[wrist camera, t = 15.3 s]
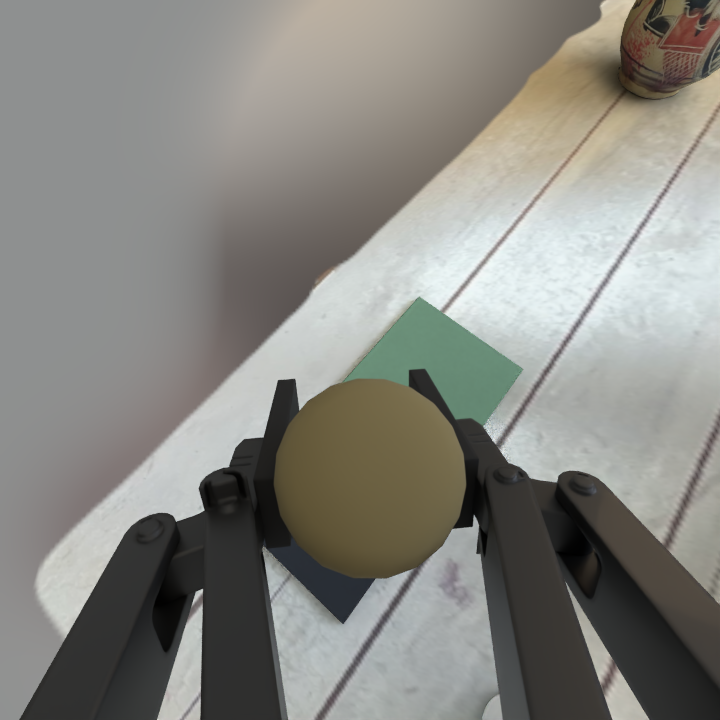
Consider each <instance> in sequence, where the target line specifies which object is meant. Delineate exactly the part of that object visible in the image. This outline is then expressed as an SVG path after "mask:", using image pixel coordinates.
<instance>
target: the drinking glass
mask: <svg viewBox="0 0 720 720" xmlns="http://www.w3.org/2000/svg"><path fill="white" fill-rule="evenodd" d="M482 720H503V718H502V711H501V703H500V696H499V694H497V695H496V696H494V697H493V698H492V699H491V700H490V701H489V703H488V704H487V706H486V708H485V710H484V713H483V716H482Z"/></svg>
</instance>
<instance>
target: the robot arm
mask: <svg viewBox="0 0 720 720" xmlns="http://www.w3.org/2000/svg"><path fill="white" fill-rule="evenodd" d="M409 387H411V388H412V389H414V390H415V391H417V392H418V393H420V394H421V395H422V396H424V397H425V398H427V399H428V400H430V401H431V402H433V403H434V404H435V405H436V407H437V408H438V409H439V410H440V412H441V413H442V414H443V415H444V417H445V418H446V419H447V420H448V422H449V423H450V424H451V425H452V427H453V429H454V432H455V434H456V437H457V439H458V442H459V444H460V447H461V449H462V452H463V454H464V464H465V475H466V489H465V494H464V498H463V503H462V507H461V512H460V516H459V518H458V520H457V522H456V523H455V525H454V527H453V529H455V528H464V527H473V517H474V515H475V517H476V519H477V521H478V523H479V533H478V542H477V552H476V554H481V561H482V569H483V576H484V584H485V591H486V599H487V606H488V614H489V621H490V628H491V636H492V643H493V651H494V658H495V666H496V673H497V681H498V688H499V696H500V703H501V711H502V718H503V720H612V718H611V715H610V712H609V709H608V706H607V703H606V700H605V697H604V694H603V691H602V688H601V685H600V682H599V680H598V677H597V674H596V671H595V668H594V665H593V662H592V659H591V656H590V653H589V650H588V647H587V644H586V642H585V639H584V636H583V633H582V630H581V627H580V624H579V621H578V618H577V615H576V612H575V609H574V607H573V604H572V601H571V598H570V595H569V592H568V589H567V586H566V583H567V585H568V586H569V588H570V590H571V591H572V593H573V595H574V596H575V598H576V600H577V601H578V603H579V604H580V606H581V608H582V609H583V611H584V613H585V614H586V616H587V618H588V619H589V621H590V623H591V624H592V626H593V627H594V629H595V631H596V632H597V634H598V636H599V637H600V639H601V641H602V642H603V644H604V646H605V647H606V649H607V651H608V652H609V654H610V655H611V657H612V659H613V660H614V662H615V664H616V665H617V667H618V669H619V670H620V672H621V674H622V675H623V677H624V678H625V680H626V682H627V683H628V685H629V687H630V688H631V690H632V692H633V693H634V695H635V697H636V698H637V700H638V701H639V703H640V705H641V706H642V708H643V710H644V711H645V713H646V715H647V716H648V718H649V720H720V605H719V604H718V603H717V602H716V601H715V600H714V599H713V597H712V596H711V595H710V594H709V593H708V592H707V591H706V590H705V589H704V588H703V587H702V586H701V585H700V584H699V583H698V582H697V581H696V580H695V579H694V578H693V576H692V575H691V574H690V573H689V572H688V571H687V570H686V569H685V568H684V567H683V566H682V565H681V564H680V563H679V562H678V561H677V560H676V559H675V558H674V557H673V555H672V554H671V553H670V552H669V551H668V550H667V549H666V548H665V547H664V546H663V545H662V544H661V543H660V542H659V541H658V540H657V539H656V538H655V537H654V536H653V534H652V533H651V532H650V531H649V530H648V529H647V528H646V527H645V526H644V525H643V524H642V523H641V522H640V521H639V520H638V519H637V518H636V517H635V516H634V515H633V513H632V512H631V511H630V510H629V509H628V508H627V507H626V506H625V505H624V504H623V503H622V502H621V501H620V500H619V499H618V498H617V497H616V496H615V495H614V494H613V492H612V491H611V490H610V489H609V488H608V487H607V486H606V485H605V484H604V483H603V482H601V481H600V480H599V479H598V478H596V477H594V476H592V475H590V474H587V473H583V472H580V471H567V472H563V473H562V474H560V475H559V476H558V481H557V483H555V482H548V481H540V480H535V479H531V478H529V476H528V475H527V473H526V472H525V471H524V470H522V469H521V468H520V467H517V466H515V465H513V464H509V463H508V462H507V460H506V459H505V458H504V456H503V455H502V453H501V452H500V450H499V449H498V448H497V446H496V445H495V443H494V442H493V441H492V439H491V438H490V436H489V435H488V434H487V432H486V430H485V429H484V428H483V426H482V425H481V424H480V423H478V422H477V421H475V420H474V419H472V418H466V419H455V418H454V416H453V414H452V413H451V411H450V409H449V408H448V406H447V404H446V403H445V401H444V399H443V398H442V396H441V394H440V392H439V391H438V389H437V387H436V386H435V384H434V382H433V381H432V379H431V377H430V376H429V374H428V372H427V371H426V369H412V370H409ZM298 412H299V405H298V397H297V389H296V381H295V379H288V380H278V383H277V387H276V391H275V395H274V399H273V403H272V407H271V411H270V415H269V419H268V422H267V426H266V430H265V434H264V438H252V439H244V440H243V441H242V442H241V443H240V444H239V445H238V446H237V447H236V448H235V451H234V454H233V457H232V459H231V462H230V465H229V466H230V467H228V468H222V469H219V470H216V471H214V472H212V473H211V474H209V475H208V476H206V477H205V478H204V479H203V480H202V482H201V483H200V486H199V491H200V495H201V498H202V502H203V506H204V509H205V511H203V512H201V513H200V514H197V515H195V516H192V517H189V518H186V519H183V520H180V521H177V522H176V521H175V519H174V517H173V516H172V515H170V514H168V513H157V514H152V515H149V516H147V517H145V518H143V519H141V520H139V521H138V522H136V523H135V524H134V525H132V526H131V527H130V528H129V530H128V531H127V532H126V533H125V535H124V537H123V538H122V540H121V542H120V544H119V545H118V547H117V549H116V551H115V552H114V554H113V556H112V558H111V559H110V561H109V563H108V565H107V566H106V568H105V570H104V572H103V574H102V575H101V577H100V579H99V581H98V582H97V584H96V586H95V588H94V589H93V591H92V593H91V595H90V596H89V598H88V600H87V602H86V603H85V605H84V607H83V609H82V610H81V612H80V614H79V616H78V618H77V619H76V621H75V623H74V625H73V626H72V628H71V630H70V632H69V633H68V635H67V637H66V639H65V640H64V642H63V644H62V646H61V647H60V649H59V651H58V653H57V655H56V657H55V658H54V660H53V662H52V663H51V665H50V667H49V669H48V670H47V672H46V674H45V676H44V677H43V679H42V681H41V683H40V684H39V686H38V688H37V690H36V692H35V693H34V695H33V697H32V699H31V700H30V702H29V704H28V705H27V707H26V709H25V711H24V713H23V715H22V716H21V718H20V720H157V718H158V714H159V711H160V708H161V704H162V701H163V698H164V695H165V691H166V688H167V685H168V681H169V678H170V675H171V672H172V668H173V665H174V662H175V658H176V655H177V652H178V648H179V645H180V642H181V639H182V635H183V632H184V629H185V625H186V622H187V619H188V616H189V612H190V609H191V606H192V602H193V599H194V596H195V593H196V591H198V590H201V589H203V622H202V669H201V716H200V720H288V716H287V710H286V703H285V696H284V689H283V683H282V676H281V669H280V663H279V656H278V649H277V642H276V636H275V629H274V622H273V616H272V609H271V602H270V595H269V589H268V582H267V575H266V569H265V562H264V556H263V552H262V548H263V542H264V539H265V543H266V548H267V549H269V548H278V547H288V546H291V538H292V535H291V533H290V532H289V530H288V528H287V527H286V525H285V523H284V521H283V520H282V518H281V516H280V512H279V507H278V503H277V498H276V493H275V489H274V475H275V464H276V453H277V451H278V449H279V446H280V444H281V441H282V439H283V436H284V434H285V432H286V429H287V427H288V425H289V423H290V422H291V421H292V420H293V418H294V417H295V416H296V415H297V414H298ZM565 581H566V583H565Z"/></svg>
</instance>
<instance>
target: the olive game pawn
mask: <svg viewBox="0 0 720 720" xmlns="http://www.w3.org/2000/svg"><path fill="white" fill-rule="evenodd" d="M274 489H275V493H276V498H277V503H278V507H279V512H280V516H281V518H282V520H283V521H284V523H285V525H286V527H287V528H288V530H289V532H290V533H291V535H292V537H293V538H294V540H295V542H296V544H297V545H298V546H299V547H300V548H302V549H303V550H304V551H305V552H306V553H307V554H309V555H310V556H311V557H312V558H313V559H314V560H316V561H317V562H318V563H319V564H320V565H321V566H323V567H325V568H328V569H331V570H333V571H336V572H338V573H341V574H344V575H346V576H349V577H352V578H389V577H392V576H395V575H397V574H400V573H403V572H405V571H408V570H411V569H414V568H416V567H418V566H419V565H420V564H422V563H423V562H424V561H425V560H426V559H427V558H429V557H430V556H431V555H432V554H433V553H435V552H436V551H437V550H438V549H439V548H440V547H442V545H443V544H444V542H445V540H446V539H447V537H448V535H449V534H450V532H451V530H452V529H453V527H454V525H455V523H456V522H457V520H458V518H459V516H460V512H461V507H462V503H463V498H464V494H465V489H466V475H465V464H464V454H463V452H462V449H461V447H460V444H459V442H458V439H457V437H456V434H455V432H454V429H453V427H452V425H451V424H450V423H449V422H448V420H447V419H446V418H445V417H444V415H443V414H442V413H441V412H440V410H439V409H438V408H437V407H436V405H435V404H434V403H433V402H431V401H430V400H428V399H427V398H425V397H424V396H422V395H421V394H420V393H418V392H417V391H415V390H414V389H412V388H411V387H408V386H405V385H402V384H399V383H396V382H393V381H389V380H386V379H361V378H357V379H354V380H350V381H347V382H343V383H340V384H336V385H333V386H330V387H329V388H327V389H326V390H324V391H323V392H321V393H320V394H318V395H317V396H315V397H313V398H312V399H310V400H309V401H307V403H306V404H305V405H304V406H303V408H302V409H301V410H300V411H299V412H298V414H297V415H296V416H295V417H294V418H293V420H292V421H291V422H290V423H289V425H288V427H287V429H286V432H285V434H284V436H283V439H282V441H281V444H280V446H279V449H278V451H277V453H276V464H275V475H274Z"/></svg>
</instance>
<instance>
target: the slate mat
mask: <svg viewBox="0 0 720 720" xmlns="http://www.w3.org/2000/svg"><path fill="white" fill-rule="evenodd" d="M263 545H264V546H265V547H266V543H265V539H264V542H263ZM268 550H269V551H270V552H271V553H272V554H273V555H274V556H275V557H276V558H277V559H278V560H279V561H280V562H281V563H282V564H283V565H284V566H285V567H286V568H287V569H288V570H289V571H290V572H291V573H292V574H293V575H294V576H295V577H296V578H297V579H298V580H299V581H300V582H301V583H302V584H303V585H304V586H305V587H306V588H307V589H308V590H309V591H310V592H311V593H312V594H313V595H314V596H315V597H316V598H317V599H318V600H319V601H320V602H321V603H322V604H323V605H324V606H325V607H326V608H327V609H328V610H329V611H330V612H331V613H332V614H333V615H334V616H335V617H336V618H337V619H338V620H339V621H341V622H342V623H343V624H344V622H345V621H346V620H347V618H348V617H349V615H350V614H351V612H352V611H353V610H354V608H355V607H356V605H357V604H358V603H359V601H360V600H361V598H362V597H363V595H364V594H365V593H366V591H367V590H368V588H369V587H370V586H371V584H372V583H373V581H374V580H375V578H352V577H349V576H346V575H344V574H341V573H338V572H336V571H333V570H331V569H328V568H325V567H323V566H321V565H320V564H319V563H318V562H317V561H316V560H314V559H313V558H312V557H311V556H310V555H309V554H307V553H306V552H305V551H304V550H303V549H302V548H300V547H299V546H298V545H297V544H296V542H295V540H294V538H293V537H292V538H291V546H288V547H278V548H269V549H268Z"/></svg>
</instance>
